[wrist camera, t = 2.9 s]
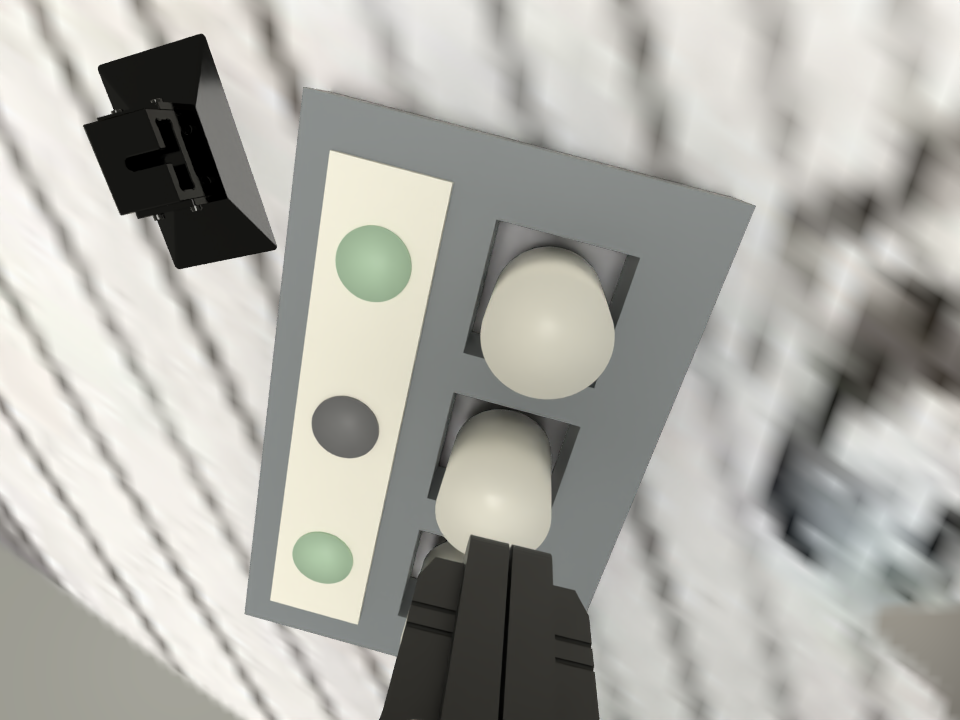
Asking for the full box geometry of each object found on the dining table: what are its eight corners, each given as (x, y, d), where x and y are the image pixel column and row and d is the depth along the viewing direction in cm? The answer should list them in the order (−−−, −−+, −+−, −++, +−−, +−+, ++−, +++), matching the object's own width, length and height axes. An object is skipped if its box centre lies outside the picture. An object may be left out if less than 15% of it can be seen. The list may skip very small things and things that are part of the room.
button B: (563, 424, 28) (565, 483, 23) (536, 505, 30) (533, 574, 25) (465, 398, 28) (448, 451, 23) (444, 480, 30) (424, 545, 25)
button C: (618, 262, 25) (633, 293, 20) (584, 364, 26) (590, 413, 22) (508, 233, 25) (498, 257, 20) (481, 336, 27) (467, 380, 22)
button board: (733, 197, 25) (755, 206, 22) (550, 655, 36) (550, 699, 33) (330, 91, 25) (303, 86, 23) (268, 576, 36) (244, 614, 33)
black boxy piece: (304, 271, 29) (262, 295, 25) (176, 297, 30) (116, 324, 26) (214, -9, 25) (145, -38, 21) (70, 34, 26) (-22, 16, 22)
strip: (453, 181, 23) (451, 183, 23) (359, 619, 32) (356, 627, 32) (333, 150, 23) (328, 150, 23) (273, 595, 32) (268, 603, 32)
